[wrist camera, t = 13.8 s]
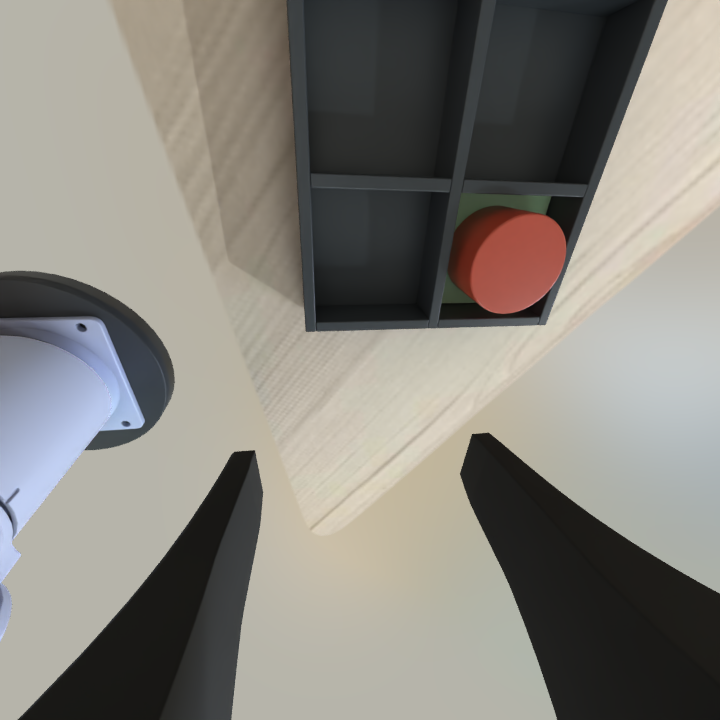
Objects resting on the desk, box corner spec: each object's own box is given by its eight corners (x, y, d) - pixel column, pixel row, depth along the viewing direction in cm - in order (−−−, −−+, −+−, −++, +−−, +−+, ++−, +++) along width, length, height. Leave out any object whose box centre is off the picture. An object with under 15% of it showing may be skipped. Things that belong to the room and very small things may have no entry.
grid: (306, 310, 17) (305, 332, 15) (286, -37, 11) (281, -91, 8) (517, 306, 19) (546, 325, 17) (612, 6, 13) (680, -30, 10)
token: (438, 293, 17) (460, 315, 15) (453, 204, 15) (483, 211, 12) (512, 292, 18) (546, 313, 15) (538, 206, 16) (583, 214, 13)
